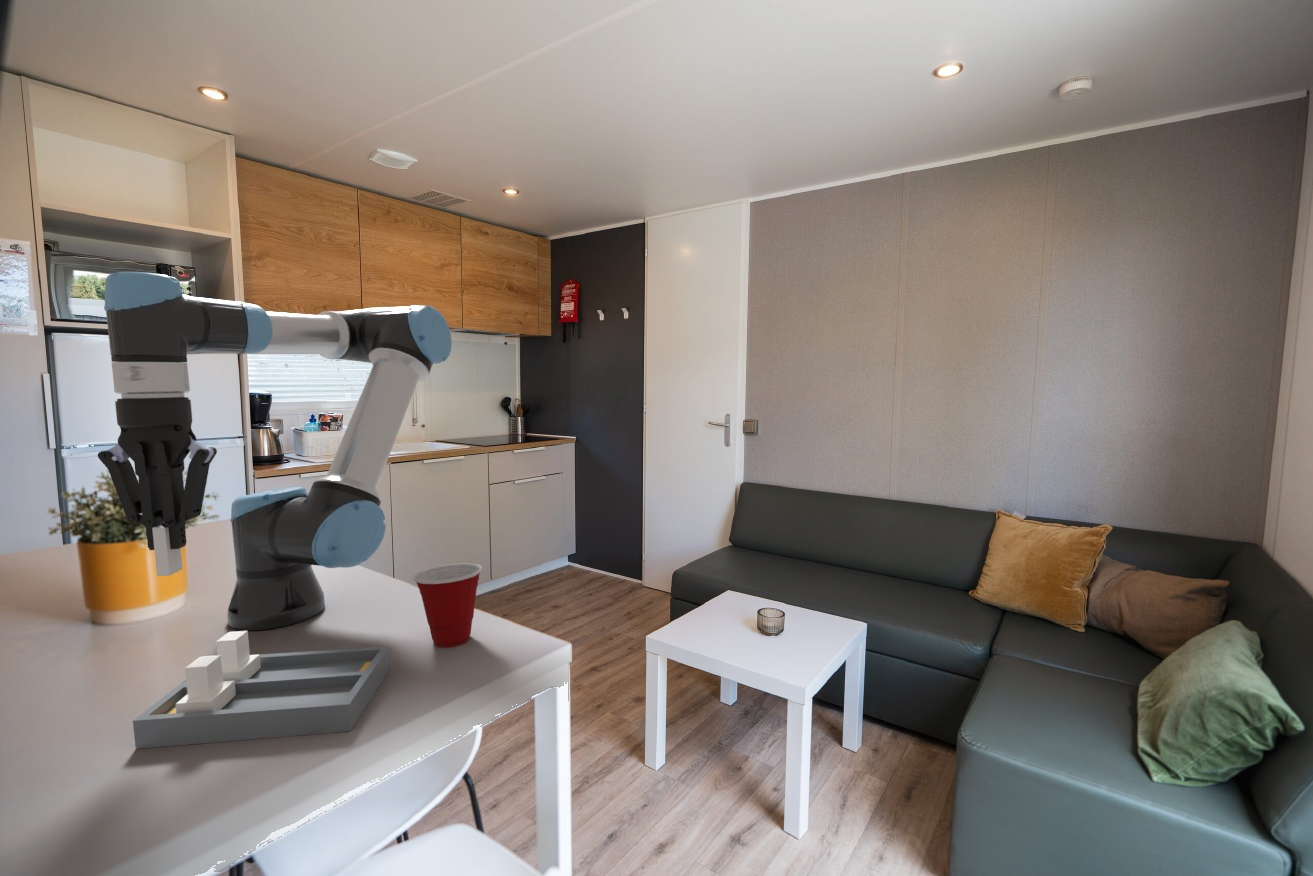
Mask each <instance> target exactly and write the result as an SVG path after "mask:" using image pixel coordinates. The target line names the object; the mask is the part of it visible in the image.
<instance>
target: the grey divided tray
mask: <svg viewBox="0 0 1313 876" xmlns="http://www.w3.org/2000/svg"><path fill="white" fill-rule="evenodd" d="M390 654H391V653H390V645H386V646H385V645H384V646H372V647H370V646H369V647H368V646H367V647H357V648H356V647H353V648H337V649H324V650H310V651H296V652H295V651H294V652H279V653H276V652H275V653H263V654H260V663H261V668H260V669H259V670H258V671H257V672H256V673H255V674H254V675H253V676H251V677H250V678H249V679H245V680H230V681H235V691H236V695H235V696H234V697H233V698H232V699H231V700H230V701H229V702H228V703H227V704H226V705H225V706H224V707H223V708H222V709H221V710H212V711H199V712H186V713H176V703H177V702H178V701H180V700H181V699H182V698H183V697H184V696H186V695H187V694H188V693H187V683H186V679H185V680H183V681H182V682H181V683H180V684H178V685H177V686H176V687H174V688H173V689H171V690H170V691H169V692H168V693H167V694H165V695H164V696H163V697H161V698H160V699H159V700H157V701H156V702H155V703H154V704H152V705H151V706H149V708H147V709H146V710H145V711H143V712H142V713H141V714H139V715H138V716H137V717H136V718H135V719H133V720H132V726H133V727H132V728H133V735H134V737H133V738H134V745H135V749H136V750H137V749H138V750H139V749H149V748H151V749H152V748H161V747H162V748H163V747H175V746H176V747H177V746H186V745H198V744H210V743H211V744H212V743H213V744H214V743H223V742H234V741H235V742H237V741H245V740H247V741H249V740H259V739H270V738H271V739H273V738H284V737H295V736H305V735H306V736H307V735H319V734H321V735H322V734H331V733H333V734H334V733H342V732H345V733H346V732H351V731H353V729H354V727H355V726H356V724H357V722H358V721H359V719H360V718H361V717H362V714H363V713H364V711H365V710H366V708H367V707H368V705H369V703H370V702H371V700H372V698H373V697H374V696H375V693H376V692H377V690H378V689H379V688H380V686H381V685H382V683H383V681H384V680H385V678H386V676H387V675H388V673H389V672H390V670H391V655H390Z"/></svg>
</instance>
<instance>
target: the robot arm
mask: <svg viewBox="0 0 1313 876" xmlns="http://www.w3.org/2000/svg"><path fill="white" fill-rule="evenodd" d="M181 285H182V284H181V282H180V281H179V279H177V278H176V277H174V276H172V275H171V276H170V275H169V276H168V275H167V274H160V273H155V272H154V273H153V272H143V271H141V272H140V271H117V272H112V273H110V274H108V275H107V276H106V278H105V280H104V307H103V309H104V311H105V315H106V325H107V332H108V333H107V334H108V342H109V351H110V352H109V353H110V356H111V371H112V378H113V379H112V381H113V390H114V393H115V394H118V395H120V396H121V397H120V398H117V399H116V400H115V401H114V403H115V404H114V405H115V415H116V422H117V423H116V424H117V425H118V427H119V429H120V434H119V436H118V437H117V444H115V445H114V446H113V447H111V448H109V449H107V450H101V451H99V452H98V453H97V459H99V461H101V464H103V465H104V466H105V467H106V469H108V470H107V471H108V472H109V475H110V478H111V480H112V483H113V486H114V488H115V491H116V494H117V497H118V499H119V502H120V504H121V506H122V509H123V512H124V515H125V519H126V521H127V522H129V523H130V524H134V523H136V524H139V525H143V526H144V527H145V533H146V543H147V549H148V550H149V551H153V552H154V558H155V559H154V560H155V570H156V576H157V577H168V576H169V577H170V576H172V575H173V574H176V573H177V572H180V571H182V570H183V560H182V559H183V558H182V550H181V549H182V548H184V547H186V545H187V533H186V532H187V531H186V522H187V521H191V520H192V519H194V518H197V517H200V516H201V514H202V508H203V503H204V497H205V493H206V487H207V481H208V475H209V469H210V464H211V463H212V461H213V459H214V458H215V456H216V455H217V453H218V450H217V448H216V447H214V446H210V447H207V446H205V445H203V444H202V443H200V442H198V441H197V436H196V435H195V433H194V431H193V430H192V423H193V413H192V402H191V399H189V397H187V396H186V397H185V394H187V393H189V392H191V388H190V378H189V377H190V375H189V369H188V368H189V367H188V366H189V365H188V355H210V354H211V355H319V356H320V357H323V358H324V359H327V360H342V361H343V360H345V361H351V362H362V363H368V364H369V363H370V364H371V365H372V368H371V370H370V372H369V375H368V377H367V379H366V382H365V384H364V387H363V389H362V391H361V393H360V397H359V399H358V401H357V403H356V405H355V408H354V410H353V413H352V415H351V417H350V420H349V422H348V425H347V427H346V430H345V431H344V434H343V436H342V438H341V441H340V443H339V446H338V448H337V450H336V452H335V456H334V458H333V460H332V462H331V464H330V466H329V469H328V472H327V474H326V475H325V476H323V477H320V478H317V479H315V480H314V481H313V483H312V485H311V488H310V489H309V491H308V492H307V489H306V488H305V487H303V486H294V487H293V486H292V487H286V488H278V489H272V490H267V491H266V490H265V491H261V492H256V493H250V494H246V495H242V496H239V497H237V498H235V499H234V500H233V502H232V504H231V506H230V507H231V508H230V509H231V515H230V516H231V517H230V519H229V520H230V523H231V532H232V538H233V539H232V540H233V551H234V562H235V572H236V581H235V584H234V588H233V591H232V594H231V598H230V602H229V604H228V608H227V613H226V614H227V623H228V626H229V627H230V628H232V629H235V630H239V631H261V630H269V629H270V630H271V629H276V628H277V629H278V628H281V627H287V626H290V625H293V624H297V623H300V622H303V621H305V620H308V619H310V618H313V617H314V616H316V615H317V614H319V613H321V612H322V611H323V610H324V609H325V608H326V607H325V606H326V602H325V601H326V600H325V594H324V591H323V589H322V586H321V584H320V582H319V580H318V578H317V576H316V574H315V572H314V570H313V567H312V566H319V567H323V568H326V569H337V568H343V569H344V568H346V569H348V568H354V567H357V566H360V565H361V564H363V563H364V562H366V561H367V560H369V559H370V558H371V557H372V556H373V555H374V554H375V553H376V551H378V550H379V547H380V546H381V543H382V542H383V539H384V536H385V533H386V527H387V526H386V525H387V524H386V523H385V522H384V521H386V520H385V519H386V516H385V513H384V511H383V509H382V508H381V503H382V498H381V496H380V494H379V492H378V491H377V489H378V486H379V484H380V481H381V479H382V476H383V473H384V470H385V469H386V465H387V462H388V460H389V457H390V455H391V452H392V450H393V447H394V445H395V442H396V440H397V437H398V434H399V431H400V428H401V427H402V423H403V421H404V419H405V416H406V412H407V410H408V408H409V405H410V403H411V399H412V397H413V395H414V392H415V388H416V387H417V384H418V383H420V382H423V381H425V380H427V379H428V378H429V375H430V372H431V370H432V367H433V365H434V364H436V365H437V364H441V363H443V362H445V361H446V360H448V358H449V357H450V355H451V351H452V346H453V345H452V344H453V343H452V334H451V331H450V327H449V324H448V322H447V320H446V318H445V317H444V315H443V314H442V313H441V312H440V310H438V309H437V308H436V307H433V306H430V305H418V304H412V305H410V306H409V305H408V306H382V307H368V308H360V309H359V308H358V309H352V310H342V311H341V310H339V311H336V310H335V311H333V310H325V311H321V312H320V313H318V314H305V313H290V312H277V311H266V310H265V309H264V308H262V307H261V306H259V305H257V304H253V303H248V302H243V301H241V300H225V299H218V298H217V299H216V298H208V297H207V298H206V297H199V296H198V297H197V296H192V295H187V294H184V292H183V289H182V287H181ZM187 456H188V458H189V459H191V460H190V461H189V464H188V467H187V472H186V473H187V474H186V478H185V479H186V480H185V484H184V474H183V473H184V471H185V459H186V458H187ZM129 459H131V460H132V462H133V463H134V464H133V465H134V467H133V465H132V462H131V461H130V460H129ZM137 477H138V478H137Z"/></svg>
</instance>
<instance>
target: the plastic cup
mask: <svg viewBox="0 0 1313 876" xmlns="http://www.w3.org/2000/svg"><path fill="white" fill-rule="evenodd" d="M482 570H483V566H482V565H481V564H477V563H476V564H475V563H465V562H463V563H451V564H449V563H448V564H443V565H438V566H433V567H430V568H427V569H423V570H420V571H418V572H415V574H414V575H413V576H412V579H413V580H414V582H415V583H416V585H417V588H418V589H419V594H420V595H421V601H422V604H423V609H424V611H425V616H426V621H427V624H428V627H429V632H430V636H431V639H432V642H433V643H434V646H437V647H440V648H450V647H451V648H453V647H456V646H460V645H462V644H465V643H466V642H468V641H469V639H470V636H471V632H472V624H473V618H474V613H475V606H476V597H477V590H478V589H477V588H478V583H479V580H480V574H481V572H482Z"/></svg>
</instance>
